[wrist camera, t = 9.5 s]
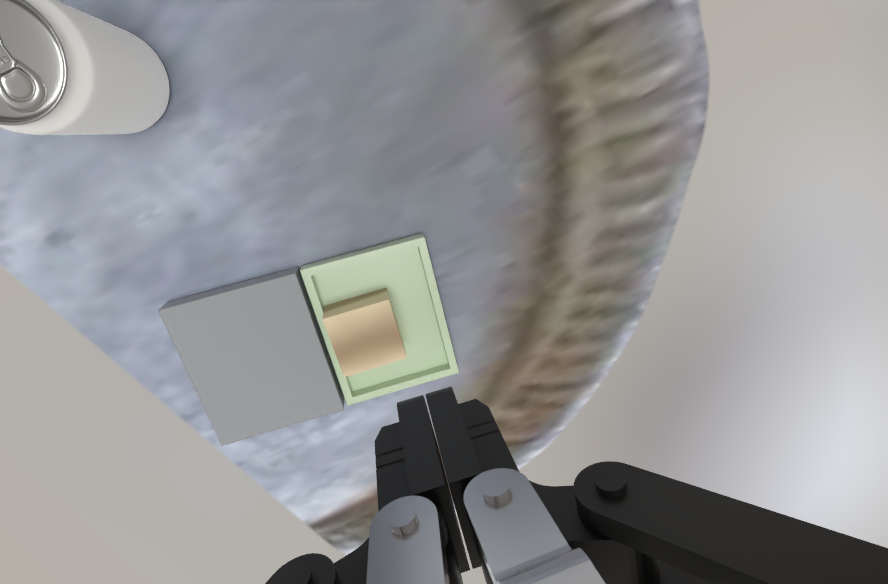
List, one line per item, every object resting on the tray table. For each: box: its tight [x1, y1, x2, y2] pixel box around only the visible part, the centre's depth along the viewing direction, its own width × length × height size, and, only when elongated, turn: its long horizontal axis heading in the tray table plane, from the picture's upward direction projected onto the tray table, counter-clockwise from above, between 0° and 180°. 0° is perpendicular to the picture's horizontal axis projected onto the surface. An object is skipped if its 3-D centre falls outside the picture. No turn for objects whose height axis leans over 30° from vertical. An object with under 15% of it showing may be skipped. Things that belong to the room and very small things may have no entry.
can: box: [0, 0, 170, 135], centre depth 27 cm, size 6×6×12 cm
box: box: [300, 233, 459, 406], centre depth 40 cm, size 12×10×2 cm
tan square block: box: [323, 288, 407, 377], centre depth 39 cm, size 5×5×3 cm
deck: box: [158, 267, 344, 446], centre depth 39 cm, size 12×10×2 cm
